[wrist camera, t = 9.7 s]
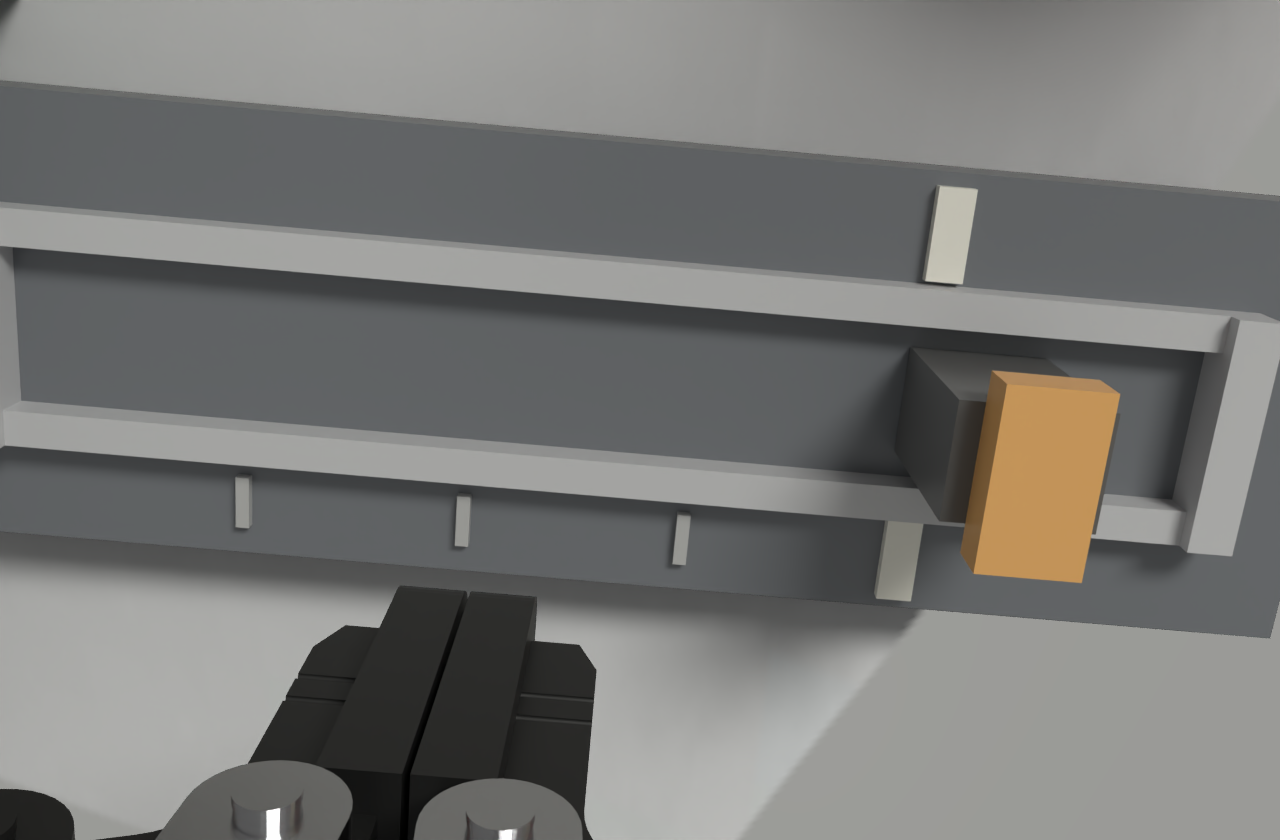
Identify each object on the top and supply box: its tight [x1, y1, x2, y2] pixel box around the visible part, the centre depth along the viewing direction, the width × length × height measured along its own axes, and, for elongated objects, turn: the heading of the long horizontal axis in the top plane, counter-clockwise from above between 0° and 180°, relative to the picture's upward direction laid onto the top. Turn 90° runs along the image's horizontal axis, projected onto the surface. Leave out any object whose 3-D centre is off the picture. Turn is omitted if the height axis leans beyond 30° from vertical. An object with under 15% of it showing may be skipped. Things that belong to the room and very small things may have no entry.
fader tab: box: [894, 347, 1121, 583], centre depth 24 cm, size 4×3×5 cm
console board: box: [0, 81, 1280, 638], centre depth 27 cm, size 10×32×3 cm, turn 85°
